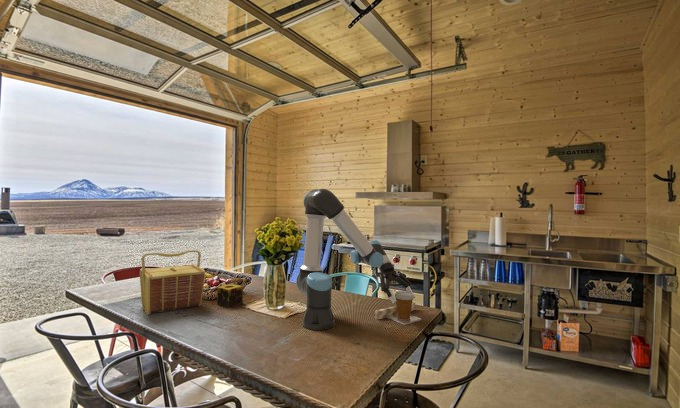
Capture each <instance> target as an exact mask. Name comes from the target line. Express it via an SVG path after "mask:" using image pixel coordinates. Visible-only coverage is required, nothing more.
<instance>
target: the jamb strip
mask: <svg viewBox="0 0 680 408" xmlns="http://www.w3.org/2000/svg"><path fill="white" fill-rule="evenodd" d="M413 311H416V302H415V301H412V307H411V312H413ZM394 314H397V308H396V305H394V306H389V307H385V308H381V309H377V310H374V319H375V320H383V319H385V318H387V316H390V315H394Z"/></svg>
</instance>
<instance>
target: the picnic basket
mask: <svg viewBox="0 0 680 408" xmlns="http://www.w3.org/2000/svg"><path fill="white" fill-rule="evenodd" d="M188 253H197V255H198V256H197V265H196V264H193V263H192V264H188V265H187V264H186V265H176V266H166V267H164V266H163V267H155V268H153V267H152V268H146V264H145V263H146V261H145V258H146V257H147V256H161V257H166V258H171V257H172V258H173V257H179V256H183V255H185V254H188ZM201 256H202V253H201V251H199V250H197V249H195V250H194V249H192V250H186V251H181V252H177V253H165V252H164V253H163V252H150V253H145V254H144V255H142V257H141V268H140V269H139V284H140V295H141V296H140V298H141V299H140V300H141V305H142V308H143V310H144V312H145V313H146V315H151V314H156V313H162V312H168V311H173V310H178V309H179V310H180V309H186V308H190V307H191V308H192V307H200V306H202V301H203V293H204V286H205V279H206V270H205V269H204V268H201V266H200V265H201Z"/></svg>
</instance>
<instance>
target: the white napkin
mask: <svg viewBox="0 0 680 408" xmlns="http://www.w3.org/2000/svg"><path fill="white" fill-rule="evenodd" d="M386 318H387V319H389V320H391V321H393V322H396V323H399V324H401V325H404V326H407V325H409V324H412V323H416V322H421V321H422V318H420V317H418V316H415V315H412V314H410V318H409V319H400V318H398V317H397V314H394V315H390V316H387V317H386Z"/></svg>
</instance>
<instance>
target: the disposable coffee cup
mask: <svg viewBox="0 0 680 408" xmlns="http://www.w3.org/2000/svg"><path fill="white" fill-rule="evenodd" d="M394 297H395V298H396V300H397V301H396V302H395V306H396V308H397V317H398V318H400V319H409V318H410V315H412V313H411V312H412V311H411V307H412V302H413V300H414V299H415V298H414V296H413V294H412V293H411V292H407V291H404V290H403V291H402V290H400V291H395V293H394ZM413 298H414V299H413Z"/></svg>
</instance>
